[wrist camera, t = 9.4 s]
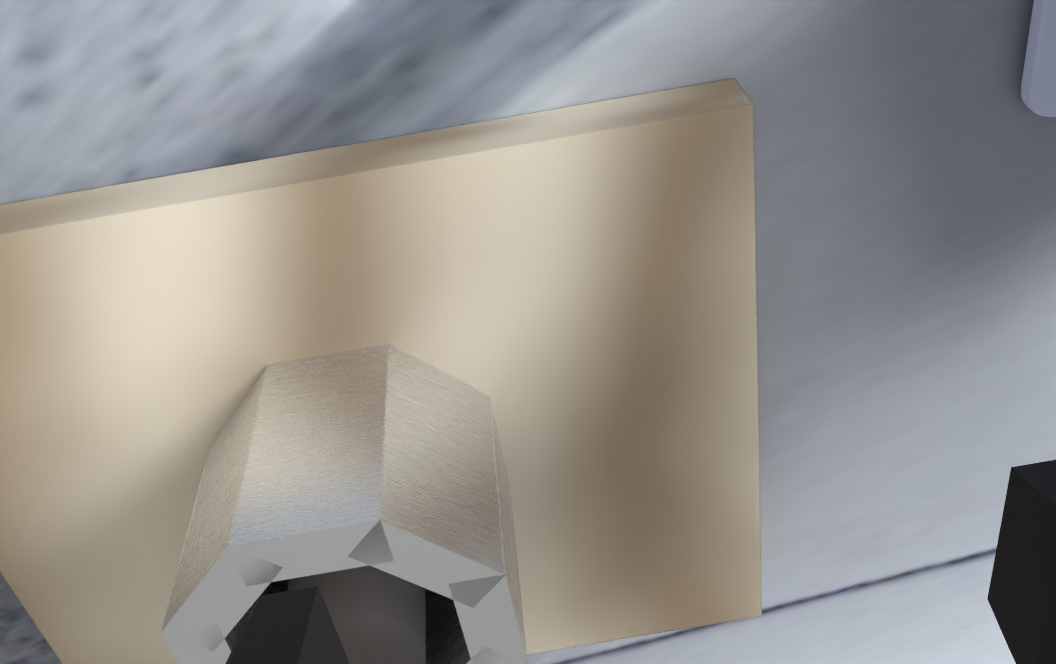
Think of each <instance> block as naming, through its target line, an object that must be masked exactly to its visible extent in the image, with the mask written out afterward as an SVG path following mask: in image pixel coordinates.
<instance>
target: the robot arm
mask: <svg viewBox="0 0 1056 664" xmlns="http://www.w3.org/2000/svg"><path fill="white" fill-rule="evenodd" d="M1021 99H1022V100H1023V102H1024V103H1025V105H1026V106H1027V107H1028V108H1029V109H1031V110H1032V111H1033V112H1034V113H1036V114H1038V115H1040V116H1042V117H1056V0H1034V2H1033V9H1032V16H1031V23H1030V30H1029V36H1028V43H1027V50H1026V57H1025V64H1024V71H1023V77H1022V84H1021ZM988 601H989V603H990V606H991V608H992V610H993V612H994V615H995V617H996V619H997V622H998V624H999V626H1000V629H1001V631H1002V633H1003V635H1004V638H1005V640H1006V642H1007V645H1008V647H1009V649H1010V651H1011V653H1012V656H1013V658H1014V660H1015V662H1016V664H1056V460H1052V461H1046V462H1040V463H1034V464H1028V465H1023V466H1017V467H1011V472H1010V478H1009V483H1008V489H1007V494H1006V500H1005V505H1004V511H1003V517H1002V522H1001V528H1000V533H999V539H998V544H997V550H996V555H995V561H994V566H993V572H992V577H991V583H990V588H989V594H988ZM226 664H350V663H349V661H348V658H347V656H346V653H345V651H344V648H343V646H342V643H341V641H340V638H339V636H338V633H337V631H336V628H335V626H334V623H333V621H332V618H331V616H330V613H329V611H328V608H327V606H326V603H325V601H324V599H323V596H322V594H321V591H320V589H319V586H314V587H308V588H302V589H296V590H290V591H285V592H279V593H273V594H267V595H261V596H260V597H259V598H258V599H257V601H256V602H255V603H254V604H253V606H252V608H251V610H250V612H249V615H248V617H247V619H246V621H245V623H244V625H243V628H242V630H241V632H240V634H239V636H238V638H237V640H236V643H235V645H234V647H233V649H232V651H231V653H230V655H229V657H228V659H227V662H226Z"/></svg>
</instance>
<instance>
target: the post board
mask: <svg viewBox="0 0 1056 664" xmlns="http://www.w3.org/2000/svg"><path fill="white" fill-rule="evenodd" d="M387 343H389V344H391V345H393V346H395V347H397V348H399V349H401V350H403V351H405V352H407V353H408V354H410V355H412V356H414V357H416V358H418V359H420V360H422V361H424V362H426V363H428V364H430V365H432V366H434V367H436V368H437V369H439V370H441V371H443V372H445V373H447V374H449V375H451V376H453V377H455V378H457V379H459V380H461V381H463V382H465V383H467V384H468V385H470V386H472V387H474V388H476V389H478V390H480V391H482V392H484V393H486V394H488V395H490V397H491V402H492V407H493V411H494V416H495V420H496V425H497V429H498V433H499V438H500V442H501V447H502V451H503V456H504V460H505V465H506V469H507V474H508V478H509V482H510V492H511V502H512V512H513V522H514V532H515V542H516V552H517V562H518V572H519V582H520V592H521V602H522V612H523V622H524V632H525V643H526V653H527V655H528V654H534V653H540V652H546V651H552V650H558V649H564V648H570V647H576V646H582V645H589V644H595V643H601V642H607V641H613V640H619V639H625V638H631V637H637V636H643V635H649V634H655V633H661V632H668V631H674V630H680V629H686V628H692V627H698V626H704V625H710V624H716V623H722V622H728V621H734V620H741V619H747V618H753V617H759V616H762V600H761V540H760V481H759V421H758V362H757V302H756V242H755V183H754V123H753V104H752V102H751V101H750V99H749V98H748V97H747V95H746V94H745V92H744V91H743V89H742V88H741V87H740V85H739V84H738V82H737V81H736V79H735V78H732V79H727V80H721V81H715V82H709V83H703V84H698V85H692V86H686V87H680V88H674V89H669V90H663V91H657V92H651V93H645V94H640V95H634V96H628V97H622V98H617V99H611V100H605V101H599V102H593V103H588V104H582V105H576V106H570V107H564V108H559V109H553V110H547V111H541V112H536V113H530V114H524V115H518V116H512V117H507V118H501V119H495V120H489V121H483V122H478V123H472V124H466V125H460V126H454V127H449V128H443V129H437V130H431V131H426V132H420V133H414V134H408V135H402V136H397V137H391V138H385V139H379V140H373V141H368V142H362V143H356V144H350V145H344V146H339V147H333V148H327V149H321V150H316V151H310V152H304V153H298V154H292V155H287V156H281V157H275V158H269V159H263V160H258V161H252V162H246V163H240V164H234V165H229V166H223V167H217V168H211V169H206V170H200V171H194V172H188V173H182V174H177V175H171V176H165V177H159V178H153V179H148V180H142V181H136V182H130V183H125V184H119V185H113V186H107V187H101V188H96V189H90V190H84V191H78V192H72V193H67V194H61V195H55V196H49V197H43V198H38V199H32V200H26V201H20V202H15V203H9V204H3V205H0V572H1V574H2V575H3V577H4V578H5V580H6V581H7V583H8V584H9V586H10V587H11V589H12V590H13V591H14V593H15V594H16V596H17V597H18V599H19V600H20V602H21V603H22V605H23V606H24V608H25V609H26V611H27V612H28V614H29V615H30V617H31V618H32V620H33V621H34V623H35V624H36V626H37V627H38V629H39V630H40V632H41V633H42V635H43V636H44V638H45V639H46V641H47V642H48V644H49V645H50V647H51V648H52V649H53V651H54V652H55V654H56V655H57V657H58V658H59V660H60V661H61V663H62V664H178V662H177V661H176V659H175V657H174V655H173V654H172V652H171V650H170V648H169V647H168V645H167V643H166V641H165V640H164V638H163V636H162V634H161V633H160V632H161V629H162V625H163V621H164V617H165V614H166V610H167V606H168V602H169V599H170V595H171V591H172V587H173V583H174V580H175V576H176V572H177V568H178V565H179V561H180V557H181V553H182V549H183V546H184V542H185V538H186V534H187V531H188V527H189V523H190V519H191V516H192V512H193V508H194V504H195V500H196V497H197V493H198V489H199V485H200V482H201V478H202V474H203V470H204V466H205V463H206V459H207V455H208V451H209V448H210V444H211V443H212V441H213V440H214V439H215V437H216V436H217V434H218V433H219V432H220V430H221V429H222V427H223V426H224V425H225V423H226V422H227V420H228V419H229V418H230V416H231V415H232V413H233V412H234V411H235V409H236V408H237V406H238V405H239V404H240V402H241V401H242V399H243V398H244V397H245V395H246V394H247V392H248V391H249V389H250V388H251V387H252V385H253V384H254V382H255V381H256V380H257V378H258V377H259V375H260V374H261V373H262V371H263V370H264V368H265V367H266V366H267V364H273V363H278V362H284V361H290V360H296V359H301V358H307V357H313V356H319V355H324V354H330V353H336V352H342V351H347V350H353V349H359V348H365V347H370V346H376V345H382V344H387ZM314 586H319V589H320V591H321V594H322V596H323V599H324V601H325V603H326V606H327V608H328V611H329V613H330V616H331V618H332V621H333V623H334V626H335V628H336V631H337V633H338V636H339V638H340V641H341V643H342V646H343V648H344V651H345V653H346V656H347V658H348V661H349V663H350V664H425V662H426V588H423V587H421V586H418V585H416V584H414V583H411V582H409V581H406V580H404V579H401V578H399V577H396V576H394V575H392V574H389V573H387V572H384V571H382V570H379V569H377V568H375V567H372V566H370V565H369V566H363V567H357V568H351V569H345V570H340V571H334V572H328V573H322V574H316V575H310V576H304V577H298V578H293V579H289V586H288V591H290V590H296V589H302V588H308V587H314Z"/></svg>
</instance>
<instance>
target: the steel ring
mask: <svg viewBox="0 0 1056 664" xmlns="http://www.w3.org/2000/svg"><path fill="white" fill-rule="evenodd" d="M369 565H370V566H372V567H375V568H377V569H379V570H382V571H384V572H387V573H389V574H392V575H394V576H396V577H399V578H401V579H404V580H406V581H409V582H411V583H414V584H416V585H418V586H421V587H423V588H426V662H425V664H528V663H527V653H526V643H525V632H524V622H523V612H522V602H521V592H520V582H519V572H518V562H517V552H516V542H515V532H514V522H513V512H512V502H511V492H510V482H509V478H508V474H507V469H506V465H505V460H504V456H503V451H502V447H501V442H500V438H499V433H498V429H497V425H496V420H495V416H494V411H493V407H492V402H491V397H490V395H488V394H486V393H484V392H482V391H480V390H478V389H476V388H474V387H472V386H470V385H468V384H467V383H465V382H463V381H461V380H459V379H457V378H455V377H453V376H451V375H449V374H447V373H445V372H443V371H441V370H439V369H437V368H436V367H434V366H432V365H430V364H428V363H426V362H424V361H422V360H420V359H418V358H416V357H414V356H412V355H410V354H408V353H407V352H405V351H403V350H401V349H399V348H397V347H395V346H393V345H391V344H389V343H387V344H382V345H376V346H370V347H365V348H359V349H353V350H347V351H342V352H336V353H330V354H324V355H319V356H313V357H307V358H301V359H296V360H290V361H284V362H278V363H273V364H267V366H266V367H265V368H264V370H263V371H262V373H261V374H260V375H259V377H258V378H257V380H256V381H255V382H254V384H253V385H252V387H251V388H250V389H249V391H248V392H247V394H246V395H245V397H244V398H243V399H242V401H241V402H240V404H239V405H238V406H237V408H236V409H235V411H234V412H233V413H232V415H231V416H230V418H229V419H228V420H227V422H226V423H225V425H224V426H223V427H222V429H221V430H220V432H219V433H218V434H217V436H216V437H215V439H214V440H213V441H212V443H211V444H210V448H209V451H208V455H207V459H206V463H205V466H204V470H203V474H202V478H201V482H200V485H199V489H198V493H197V497H196V500H195V504H194V508H193V512H192V516H191V519H190V523H189V527H188V531H187V534H186V538H185V542H184V546H183V549H182V553H181V557H180V561H179V565H178V568H177V572H176V576H175V580H174V583H173V587H172V591H171V595H170V599H169V602H168V606H167V610H166V614H165V617H164V621H163V625H162V629H161V632H160V633H161V634H162V636H163V638H164V640H165V641H166V643H167V645H168V647H169V648H170V650H171V652H172V654H173V655H174V657H175V659H176V661H177V662H178V664H226V662H227V659H228V657H229V655H230V653H231V651H232V649H233V647H234V645H235V643H236V640H237V638H238V636H239V634H240V632H241V630H242V628H243V625H244V623H245V621H246V619H247V617H248V615H249V612H250V610H251V608H252V606H253V604H254V603H255V602H256V601H257V599H258V598H259V597H260V596H261V595H267V594H273V593H279V592H285V591H288V586H289V579H293V578H298V577H304V576H310V575H316V574H322V573H328V572H334V571H340V570H345V569H351V568H357V567H363V566H369Z"/></svg>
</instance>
